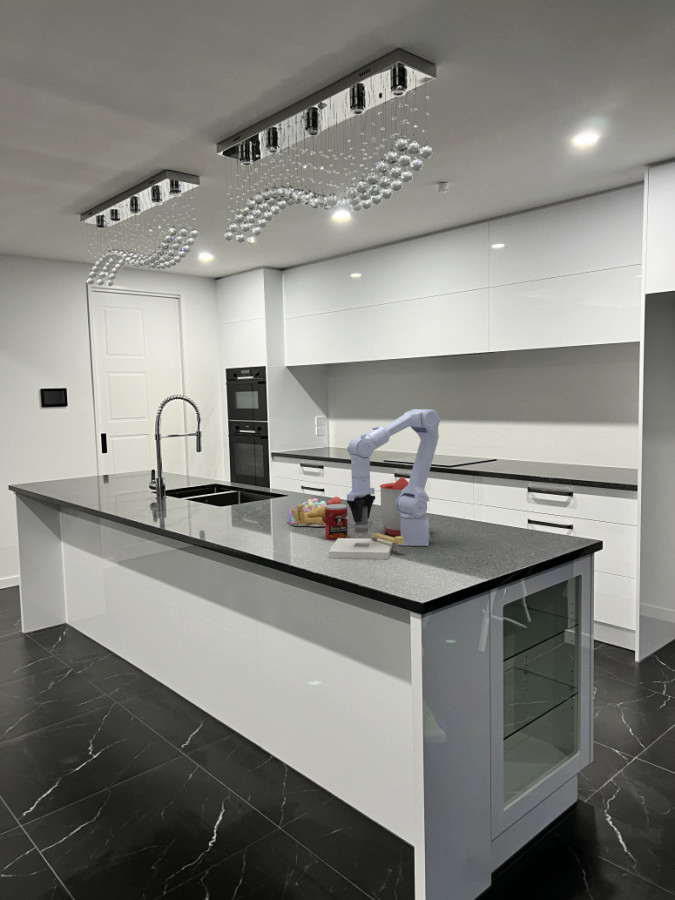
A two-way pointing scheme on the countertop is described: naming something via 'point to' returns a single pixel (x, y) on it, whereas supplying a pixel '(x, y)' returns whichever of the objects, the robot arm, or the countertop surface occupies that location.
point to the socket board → (360, 548)
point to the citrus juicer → (392, 506)
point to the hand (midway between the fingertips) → (361, 520)
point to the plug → (362, 522)
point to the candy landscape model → (310, 512)
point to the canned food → (336, 521)
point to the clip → (387, 538)
